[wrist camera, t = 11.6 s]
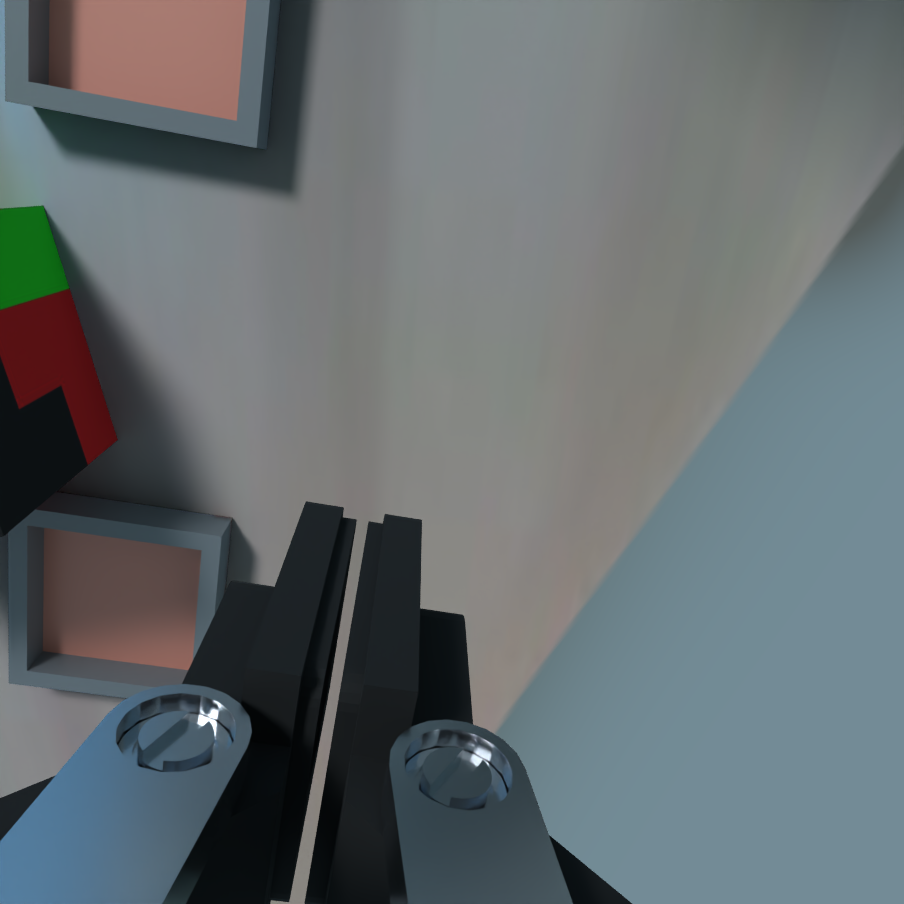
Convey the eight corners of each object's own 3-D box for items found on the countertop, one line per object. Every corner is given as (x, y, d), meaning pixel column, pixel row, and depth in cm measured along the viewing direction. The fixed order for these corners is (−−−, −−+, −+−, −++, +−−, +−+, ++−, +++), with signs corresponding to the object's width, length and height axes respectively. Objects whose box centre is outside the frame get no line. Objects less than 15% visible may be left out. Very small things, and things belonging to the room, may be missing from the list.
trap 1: (30, 488, 35) (7, 505, 33) (232, 517, 36) (221, 536, 34) (29, 658, 38) (8, 683, 36) (216, 682, 39) (206, 708, 37)
